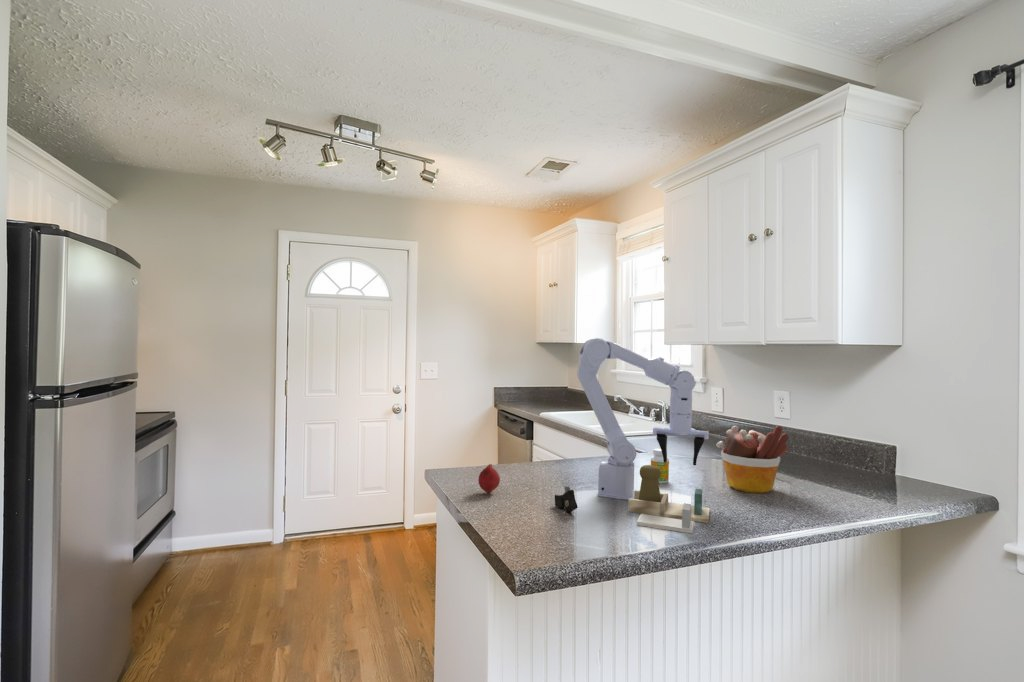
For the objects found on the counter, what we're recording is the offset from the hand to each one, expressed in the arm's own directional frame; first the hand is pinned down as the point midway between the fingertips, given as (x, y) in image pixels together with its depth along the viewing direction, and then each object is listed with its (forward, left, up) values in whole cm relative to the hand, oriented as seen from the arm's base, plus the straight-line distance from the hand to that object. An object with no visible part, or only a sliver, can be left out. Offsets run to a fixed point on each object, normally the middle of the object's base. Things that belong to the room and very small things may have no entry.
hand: (679, 463), depth 139 cm
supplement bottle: (-7, +16, -10) cm, 20 cm away
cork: (-6, -15, -10) cm, 19 cm away
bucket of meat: (+19, +20, -10) cm, 29 cm away
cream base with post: (-1, -26, -9) cm, 28 cm away
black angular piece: (-25, -26, -10) cm, 37 cm away
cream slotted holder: (-1, -15, -9) cm, 18 cm away
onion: (-48, -21, -10) cm, 53 cm away
